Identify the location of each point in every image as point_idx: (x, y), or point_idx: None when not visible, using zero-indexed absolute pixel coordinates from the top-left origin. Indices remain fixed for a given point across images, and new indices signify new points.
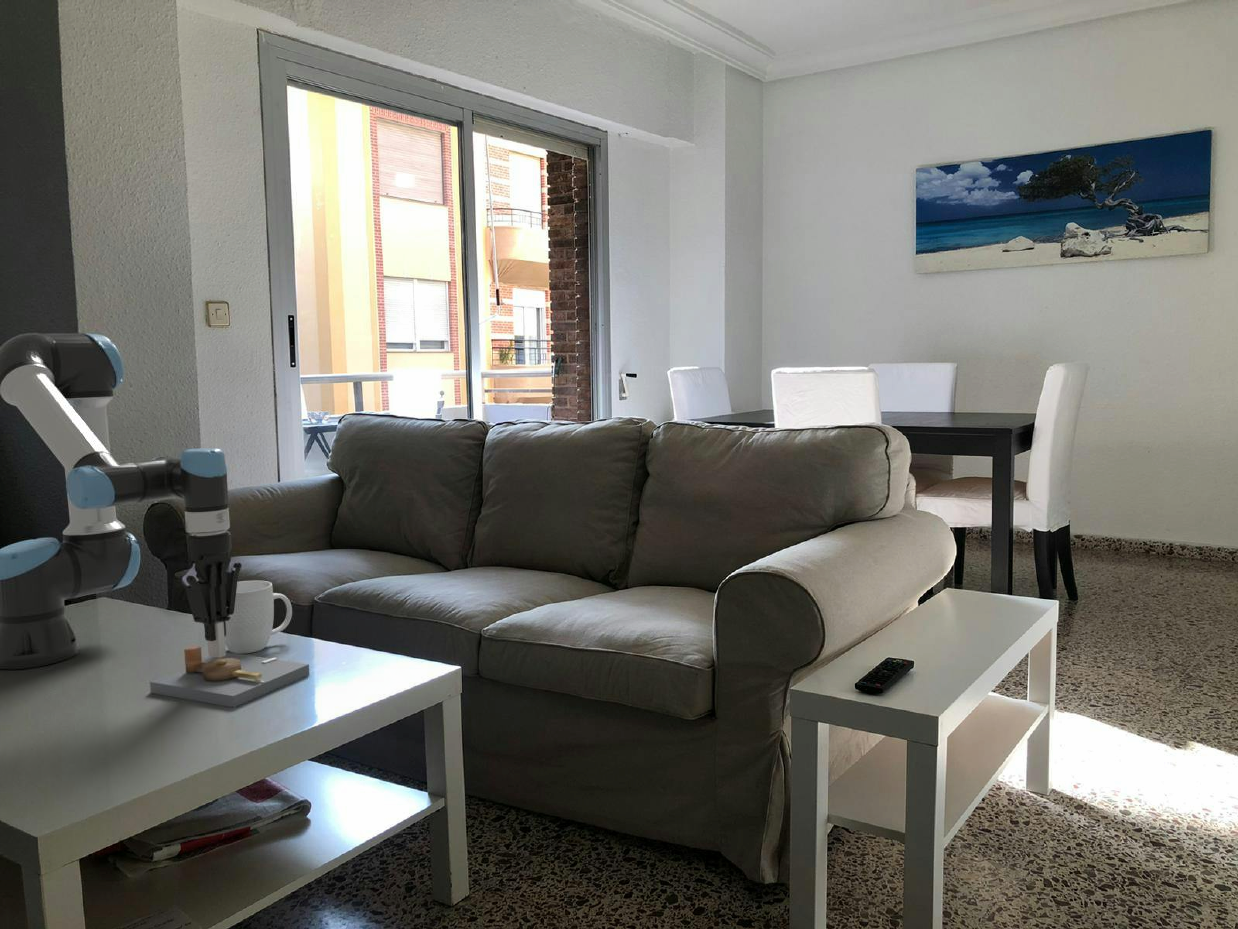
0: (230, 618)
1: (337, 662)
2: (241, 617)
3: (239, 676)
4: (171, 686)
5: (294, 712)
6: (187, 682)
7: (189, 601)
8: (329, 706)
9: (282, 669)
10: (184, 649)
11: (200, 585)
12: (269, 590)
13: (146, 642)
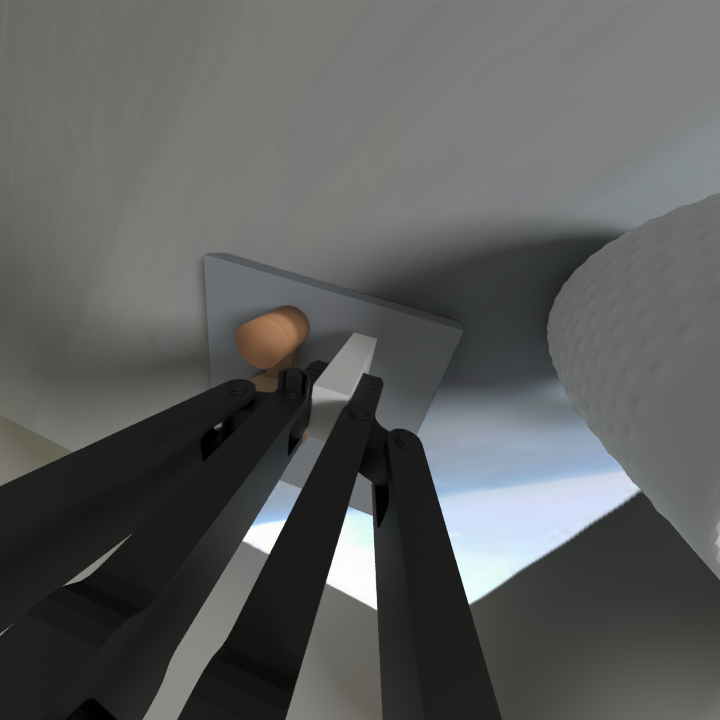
0: (587, 353)
1: (456, 526)
2: (584, 405)
3: None
4: (208, 325)
5: None
6: (232, 350)
7: (84, 454)
8: (271, 534)
9: None
10: (244, 324)
11: (48, 631)
12: None
13: None
